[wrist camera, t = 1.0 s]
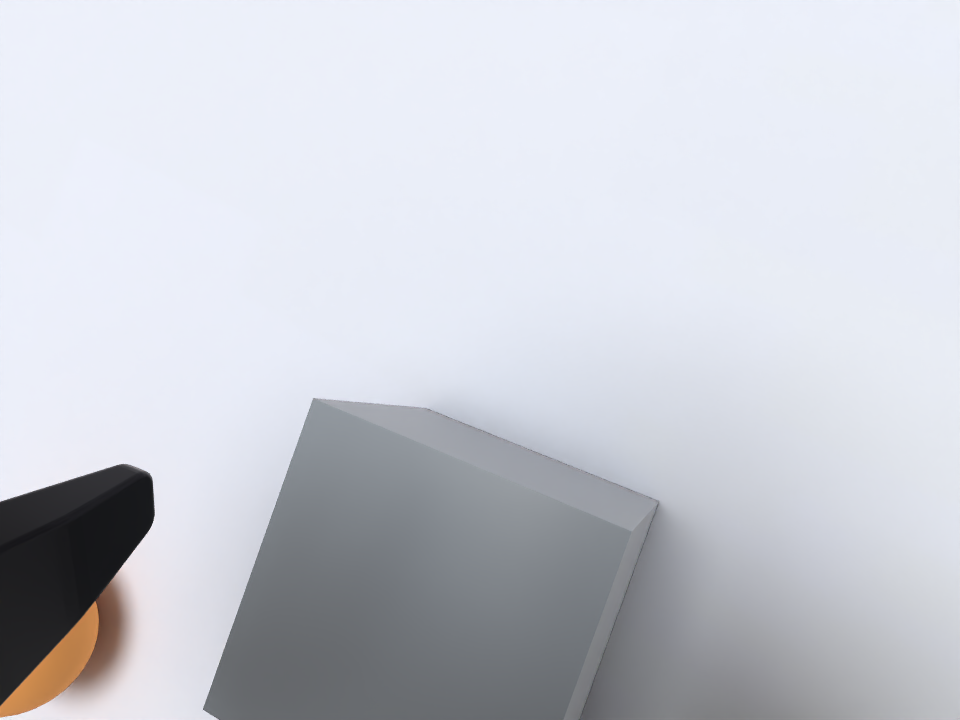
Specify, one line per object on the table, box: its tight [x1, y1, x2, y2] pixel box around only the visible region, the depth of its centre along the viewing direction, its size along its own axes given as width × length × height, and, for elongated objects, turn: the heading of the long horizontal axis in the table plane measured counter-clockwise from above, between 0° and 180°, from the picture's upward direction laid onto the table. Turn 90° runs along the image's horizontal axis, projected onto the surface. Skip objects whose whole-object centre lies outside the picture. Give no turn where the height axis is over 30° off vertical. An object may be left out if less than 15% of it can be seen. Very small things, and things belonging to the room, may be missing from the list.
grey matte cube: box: [203, 398, 659, 720], centre depth 19 cm, size 8×8×7 cm
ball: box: [0, 601, 99, 717], centre depth 24 cm, size 5×5×5 cm
